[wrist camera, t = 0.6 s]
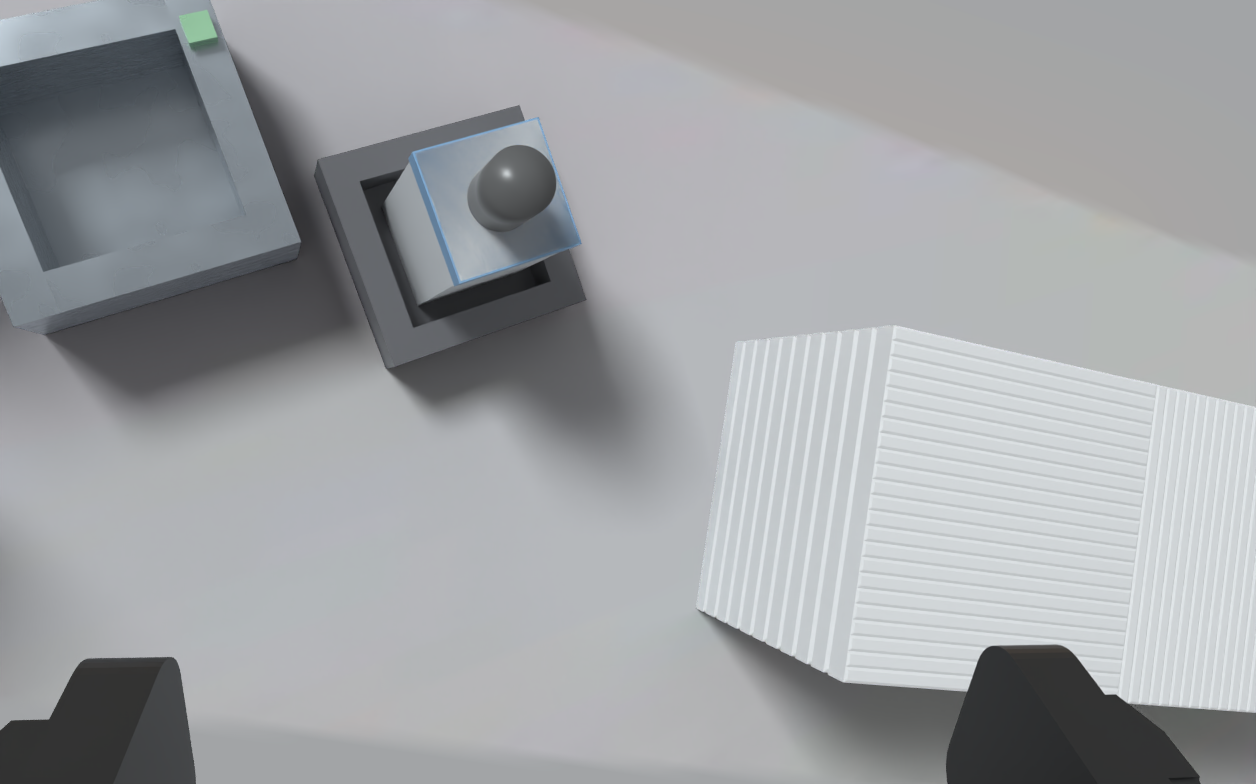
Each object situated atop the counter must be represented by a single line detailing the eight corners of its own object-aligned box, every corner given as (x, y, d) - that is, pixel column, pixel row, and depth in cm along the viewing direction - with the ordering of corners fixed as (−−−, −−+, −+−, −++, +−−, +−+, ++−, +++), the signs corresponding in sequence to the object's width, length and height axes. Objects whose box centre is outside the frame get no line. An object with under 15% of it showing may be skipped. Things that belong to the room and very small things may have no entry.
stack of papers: (693, 606, 39) (844, 682, 29) (733, 342, 39) (894, 325, 29) (1260, 662, 50) (1514, 732, 40) (1285, 455, 50) (1541, 471, 40)
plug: (416, 307, 34) (478, 273, 24) (379, 205, 34) (426, 128, 24) (514, 275, 35) (611, 229, 25) (479, 176, 35) (563, 91, 25)
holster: (385, 368, 34) (394, 366, 32) (313, 175, 33) (317, 159, 31) (565, 305, 37) (586, 299, 34) (502, 123, 36) (519, 105, 33)
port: (44, 334, 31) (9, 326, 27) (-60, 85, 30) (-112, 36, 26) (297, 258, 33) (301, 239, 29) (209, 27, 32) (201, -26, 28)
